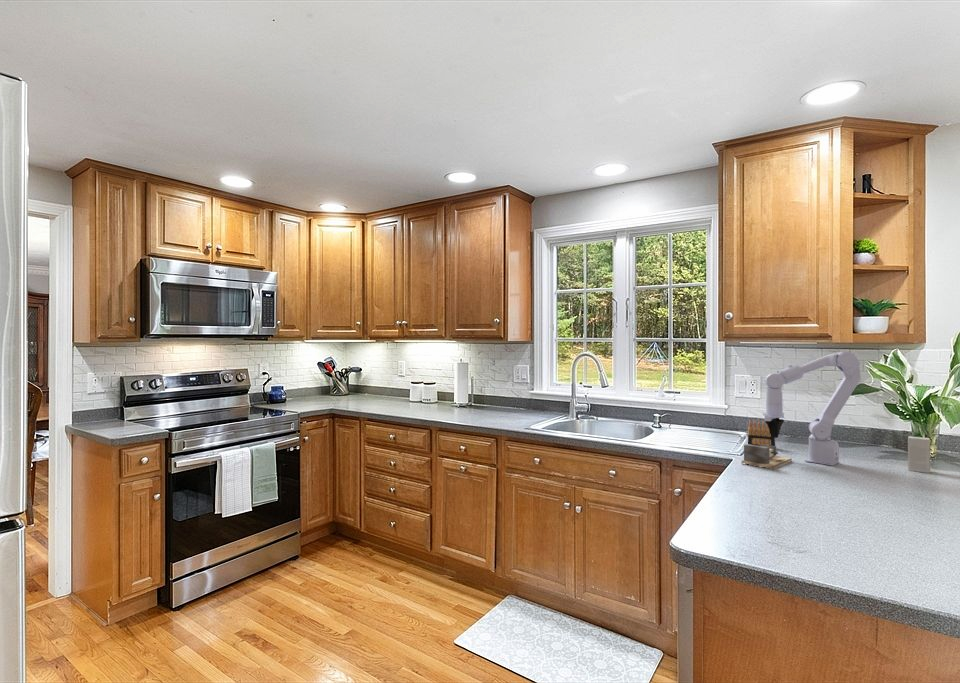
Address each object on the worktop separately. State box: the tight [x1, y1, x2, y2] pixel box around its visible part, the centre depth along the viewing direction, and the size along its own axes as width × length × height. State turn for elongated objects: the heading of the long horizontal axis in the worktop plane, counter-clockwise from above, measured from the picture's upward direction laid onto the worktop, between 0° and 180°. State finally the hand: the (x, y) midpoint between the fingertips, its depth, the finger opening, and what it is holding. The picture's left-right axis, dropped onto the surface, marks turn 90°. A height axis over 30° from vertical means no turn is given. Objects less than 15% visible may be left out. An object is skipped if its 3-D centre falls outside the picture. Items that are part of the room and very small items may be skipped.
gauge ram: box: [759, 444, 779, 457], centre depth 200 cm, size 8×8×4 cm
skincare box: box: [907, 435, 931, 474], centre depth 186 cm, size 6×4×12 cm
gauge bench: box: [741, 443, 793, 470], centre depth 200 cm, size 11×19×7 cm, turn 130°
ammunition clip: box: [747, 419, 776, 446], centre depth 228 cm, size 11×2×12 cm, turn 56°
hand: (774, 437), depth 207 cm, fingers closed
